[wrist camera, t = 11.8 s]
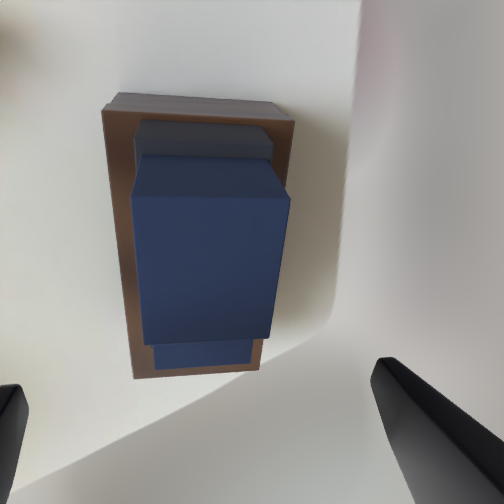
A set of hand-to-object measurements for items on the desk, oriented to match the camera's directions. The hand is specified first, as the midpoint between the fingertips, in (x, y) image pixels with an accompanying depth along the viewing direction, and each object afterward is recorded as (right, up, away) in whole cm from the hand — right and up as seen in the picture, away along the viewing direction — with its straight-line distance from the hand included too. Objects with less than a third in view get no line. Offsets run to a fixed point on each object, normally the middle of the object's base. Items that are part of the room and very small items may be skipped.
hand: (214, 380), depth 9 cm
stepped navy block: (-1, +4, +6) cm, 8 cm away
